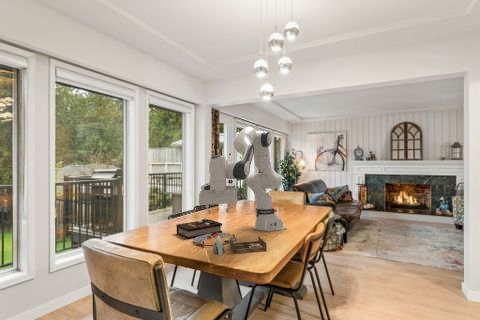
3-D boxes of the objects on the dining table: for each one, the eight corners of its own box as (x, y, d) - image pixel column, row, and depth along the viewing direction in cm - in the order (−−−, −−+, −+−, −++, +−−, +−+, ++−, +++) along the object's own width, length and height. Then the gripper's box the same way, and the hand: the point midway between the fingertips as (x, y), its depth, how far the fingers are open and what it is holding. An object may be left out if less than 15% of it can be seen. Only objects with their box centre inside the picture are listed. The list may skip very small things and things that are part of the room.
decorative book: (172, 223, 181) (211, 217, 199) (172, 234, 181) (211, 227, 199) (185, 228, 166) (226, 221, 184) (185, 241, 166) (226, 233, 184)
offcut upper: (258, 245, 146) (258, 243, 146) (260, 247, 143) (260, 245, 143) (250, 246, 145) (250, 244, 145) (252, 248, 141) (252, 246, 141)
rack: (259, 246, 153) (259, 236, 153) (266, 253, 141) (266, 242, 141) (229, 248, 149) (229, 239, 149) (234, 255, 137) (234, 245, 137)
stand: (224, 250, 146) (224, 243, 146) (226, 255, 138) (226, 248, 138) (211, 251, 145) (211, 244, 145) (212, 256, 137) (212, 249, 137)
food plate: (216, 233, 180) (216, 228, 180) (243, 240, 165) (243, 234, 165) (186, 243, 161) (186, 237, 161) (214, 252, 146) (214, 245, 146)
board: (222, 256, 135) (222, 241, 136) (218, 256, 135) (218, 242, 135) (219, 249, 146) (219, 236, 146) (215, 249, 146) (215, 236, 146)
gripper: (236, 184, 148) (236, 210, 147) (198, 186, 143) (198, 212, 143) (238, 185, 141) (239, 212, 141) (198, 187, 137) (199, 214, 137)
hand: (218, 212), depth 142 cm, fingers open, 8 cm apart
